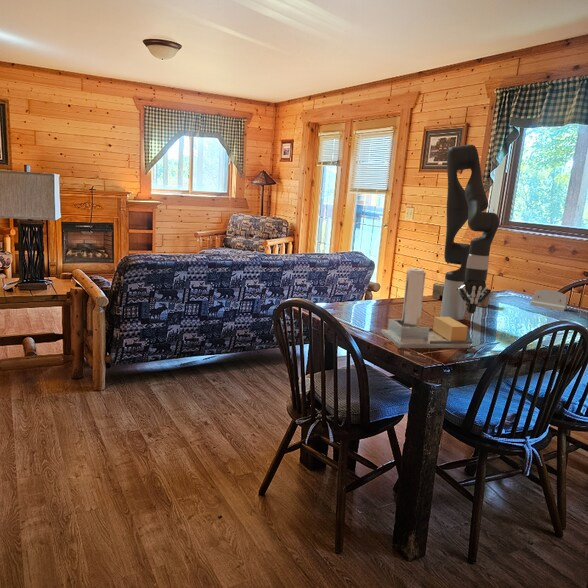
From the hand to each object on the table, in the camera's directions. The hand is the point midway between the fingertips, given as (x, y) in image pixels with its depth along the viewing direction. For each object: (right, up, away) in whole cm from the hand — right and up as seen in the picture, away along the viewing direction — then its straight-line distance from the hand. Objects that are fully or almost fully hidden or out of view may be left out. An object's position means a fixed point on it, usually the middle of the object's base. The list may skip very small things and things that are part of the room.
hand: (470, 313), depth 187 cm
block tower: (+20, +3, +73) cm, 76 cm away
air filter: (-24, -9, -2) cm, 25 cm away
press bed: (-17, -10, -1) cm, 20 cm away
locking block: (-8, -8, 0) cm, 12 cm away
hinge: (+66, 0, +73) cm, 98 cm away
